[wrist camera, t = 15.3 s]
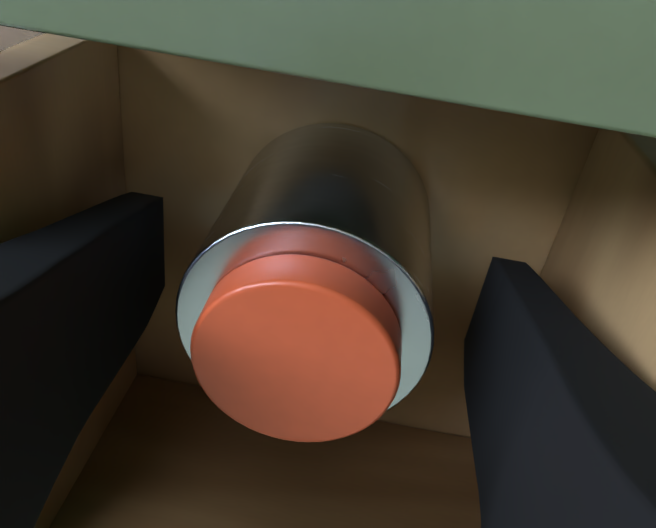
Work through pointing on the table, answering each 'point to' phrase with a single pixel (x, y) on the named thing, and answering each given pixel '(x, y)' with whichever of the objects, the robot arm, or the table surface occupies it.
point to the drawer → (372, 115)
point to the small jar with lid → (313, 287)
